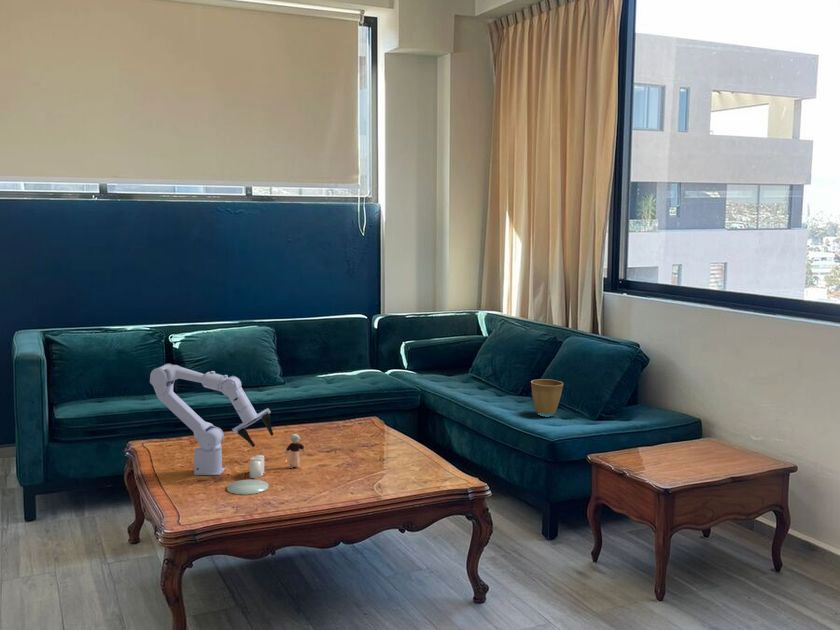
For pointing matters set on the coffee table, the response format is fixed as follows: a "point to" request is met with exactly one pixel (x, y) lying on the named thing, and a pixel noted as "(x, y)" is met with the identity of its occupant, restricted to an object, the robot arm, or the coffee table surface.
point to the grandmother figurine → (294, 451)
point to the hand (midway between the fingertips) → (263, 440)
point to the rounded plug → (257, 466)
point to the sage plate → (247, 487)
